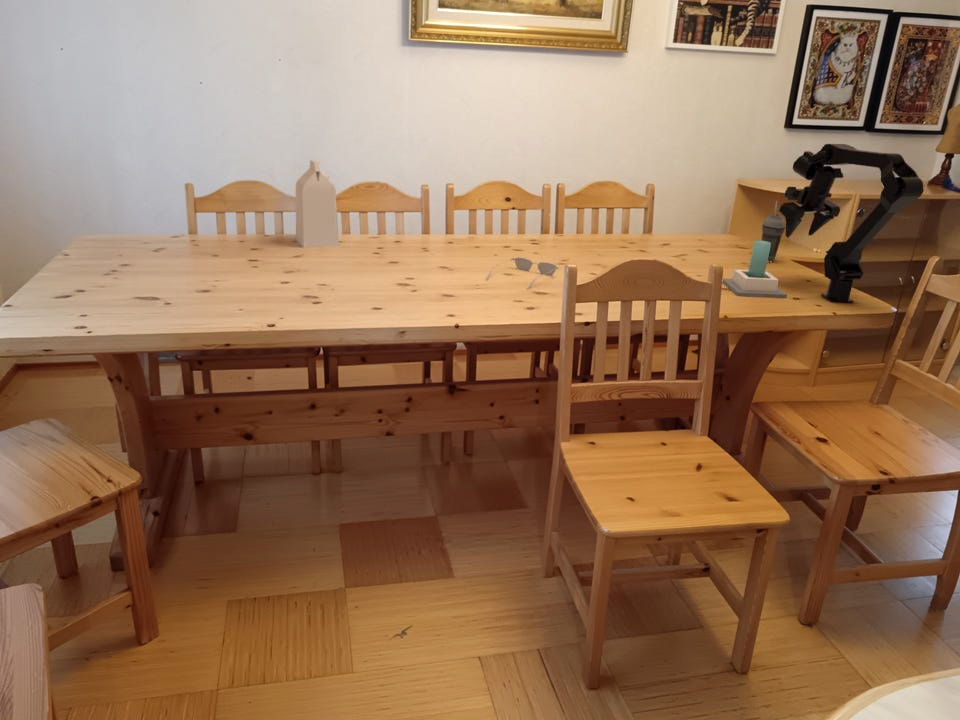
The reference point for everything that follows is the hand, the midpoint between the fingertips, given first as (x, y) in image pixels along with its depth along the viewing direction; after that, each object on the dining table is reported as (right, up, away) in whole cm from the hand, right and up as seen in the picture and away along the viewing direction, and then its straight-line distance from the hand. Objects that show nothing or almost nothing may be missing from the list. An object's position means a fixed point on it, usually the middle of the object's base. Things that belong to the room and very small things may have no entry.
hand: (798, 235), depth 214 cm
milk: (-149, +1, +20) cm, 151 cm away
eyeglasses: (-84, -14, -7) cm, 85 cm away
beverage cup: (+1, -4, +27) cm, 28 cm away
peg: (-16, -16, -7) cm, 24 cm away
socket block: (-16, -17, -6) cm, 24 cm away
